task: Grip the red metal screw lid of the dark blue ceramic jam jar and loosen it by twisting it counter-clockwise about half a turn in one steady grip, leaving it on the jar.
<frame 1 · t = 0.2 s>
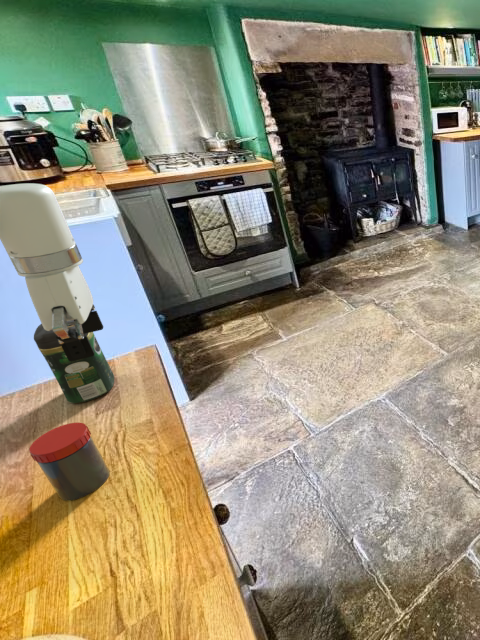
hand: (87, 344, 74), 21 cm above the countertop, tool pointing down, fingers open, 9 cm apart
coffee jar: (92, 390, 92), on the countertop
jam jar: (85, 483, 71), on the countertop
jam lid: (59, 439, 67), point 11 cm above the countertop, screwed on, not yet turned
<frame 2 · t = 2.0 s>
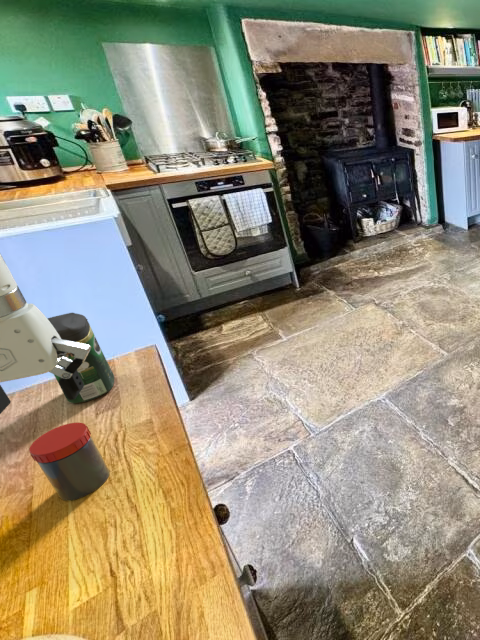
hand: (40, 401, 63), 19 cm above the countertop, tool pointing down, fingers open, 8 cm apart
nothing on the countertop moved.
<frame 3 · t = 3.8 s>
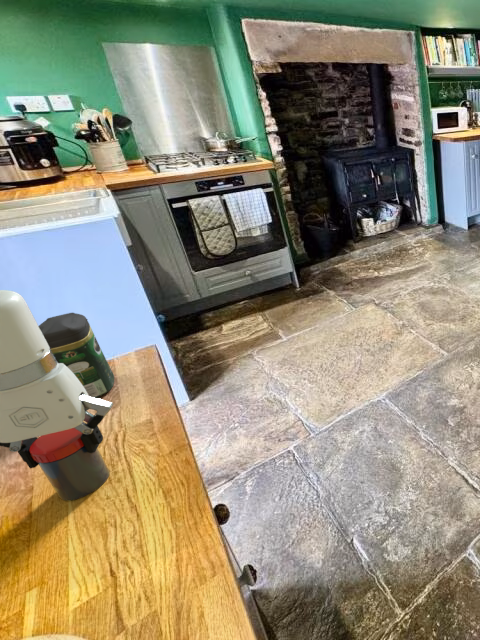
hand: (67, 453, 68), 8 cm above the countertop, tool pointing down, fingers closed on jam lid, 6 cm apart
jam lid: (59, 439, 67), point 11 cm above the countertop, screwed on, not yet turned, touching gripper
everything else where it was.
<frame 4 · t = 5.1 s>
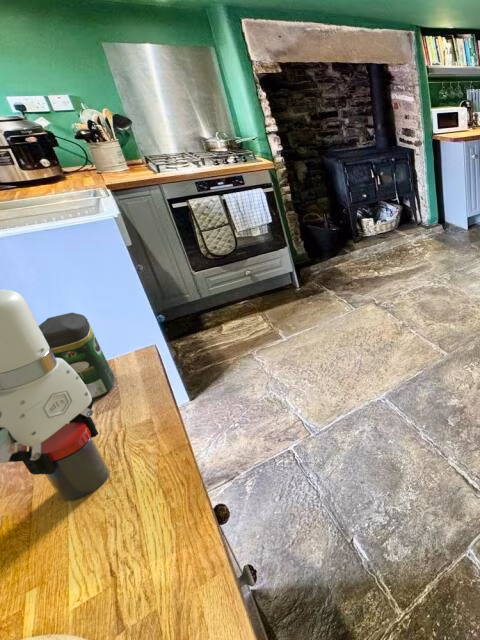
hand: (67, 452, 68), 8 cm above the countertop, tool pointing down, fingers closed on jam lid, 6 cm apart
jam lid: (59, 439, 67), point 11 cm above the countertop, turned 66° so far, risen 0.1 cm, still on its thread, touching gripper
everything else where it was.
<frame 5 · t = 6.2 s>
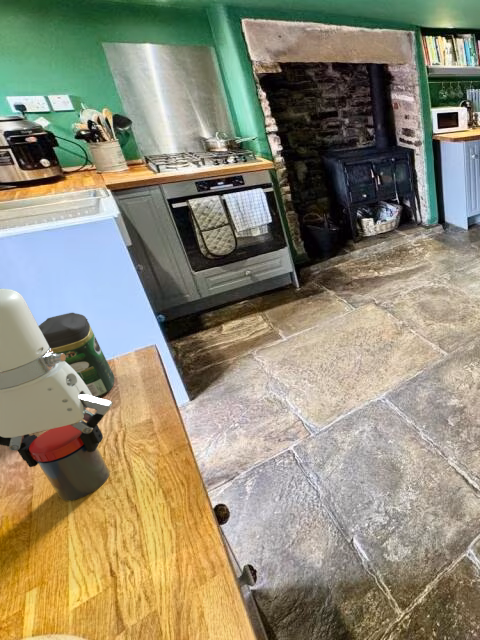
hand: (67, 451, 68), 8 cm above the countertop, tool pointing down, fingers closed on jam lid, 6 cm apart
jam jar: (85, 483, 71), on the countertop, touching gripper
jam lid: (59, 438, 67), point 11 cm above the countertop, turned 180° so far, risen 0.2 cm, still on its thread, touching gripper
everything else where it was.
when the fingers open (7 cm above the countertop, at t = 7.0 s): jam lid stays where it is, point 11 cm above the countertop.
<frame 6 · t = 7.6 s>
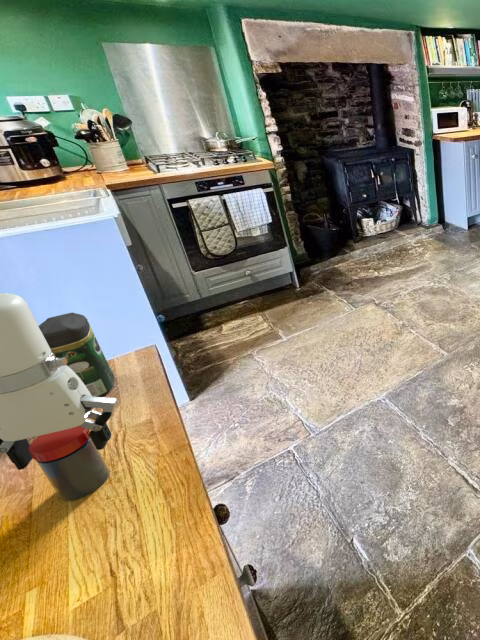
hand: (66, 452, 68), 8 cm above the countertop, tool pointing down, fingers open, 9 cm apart
jam jar: (85, 483, 71), on the countertop
jam lid: (59, 438, 67), point 11 cm above the countertop, turned 180° so far, risen 0.2 cm, still on its thread
everything else where it was.
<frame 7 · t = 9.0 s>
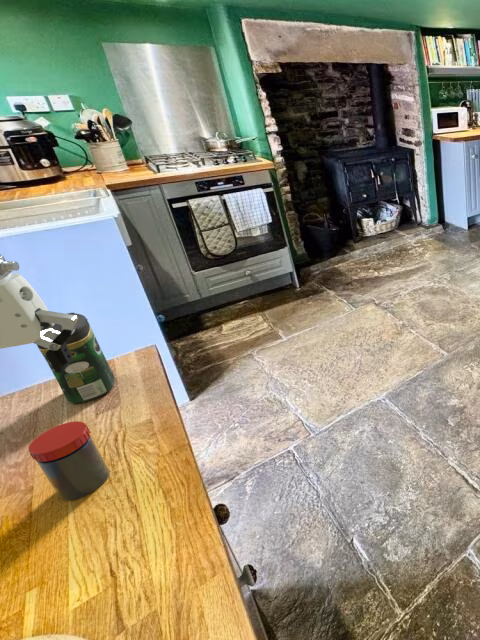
hand: (21, 375, 61), 24 cm above the countertop, tool pointing down, fingers open, 9 cm apart
nothing on the countertop moved.
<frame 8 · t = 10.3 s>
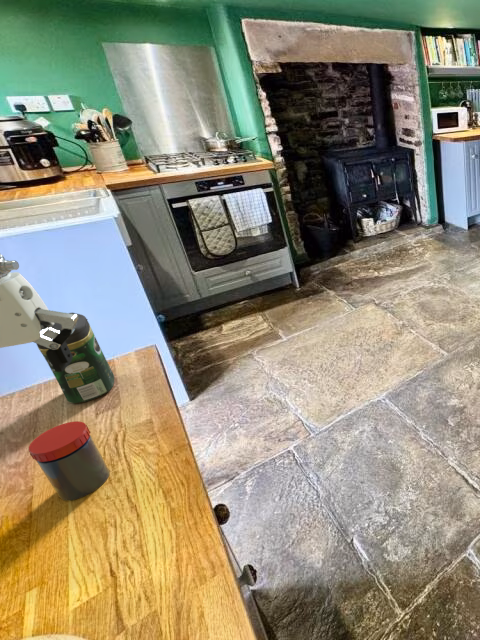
hand: (22, 374, 61), 24 cm above the countertop, tool pointing down, fingers open, 9 cm apart
nothing on the countertop moved.
at the end: jam lid turned 0.50 turns (still on its thread); jam lid is still on its thread (0.50 turns); jam jar tilted 0° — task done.
